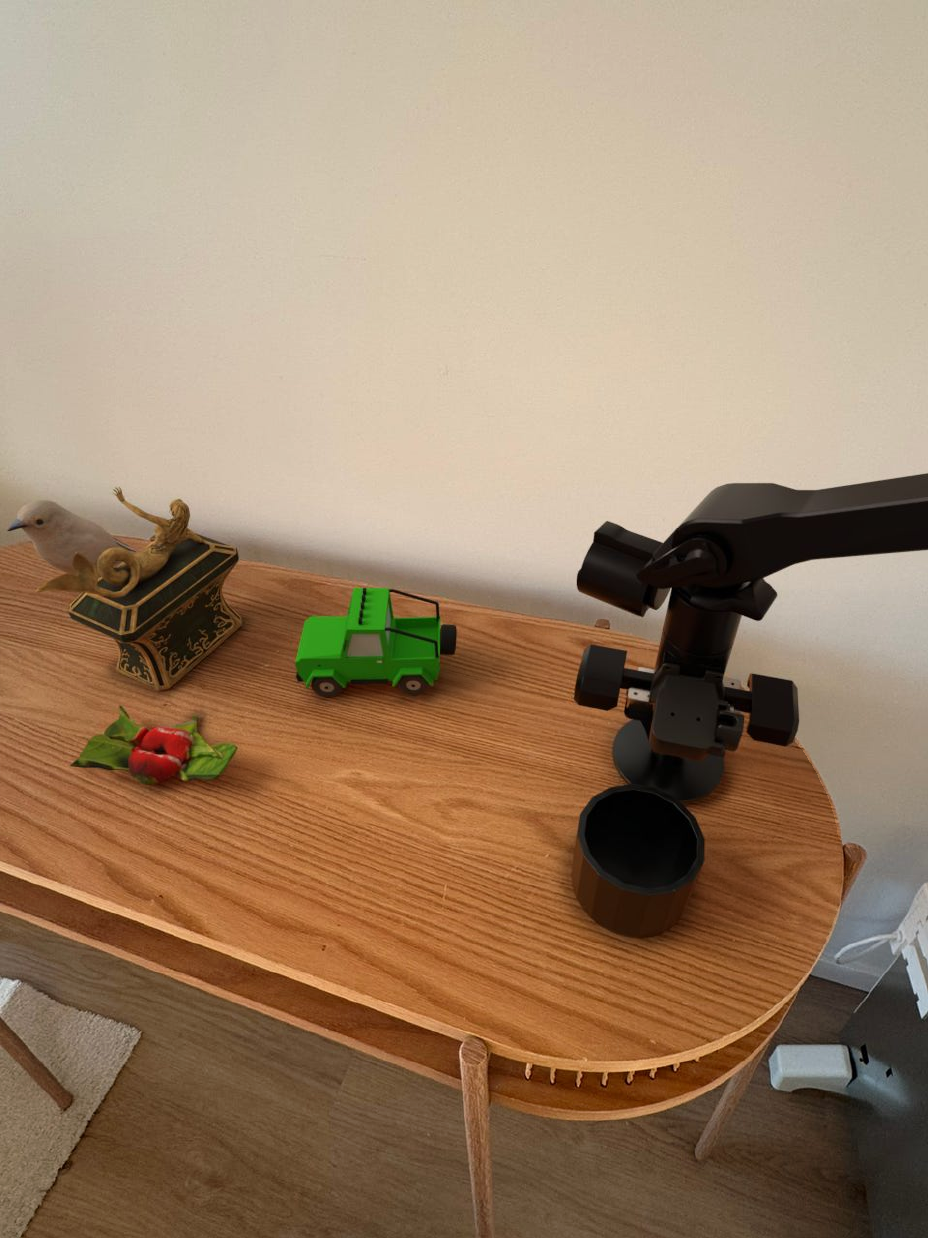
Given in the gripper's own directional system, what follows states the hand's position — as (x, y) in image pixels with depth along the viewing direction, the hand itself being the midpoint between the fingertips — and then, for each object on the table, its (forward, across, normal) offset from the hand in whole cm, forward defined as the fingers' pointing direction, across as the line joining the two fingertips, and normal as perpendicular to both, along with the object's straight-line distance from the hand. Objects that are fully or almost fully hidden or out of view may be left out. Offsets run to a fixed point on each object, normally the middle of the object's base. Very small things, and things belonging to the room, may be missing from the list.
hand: (668, 751), depth 71 cm
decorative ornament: (+2, -47, -13) cm, 49 cm away
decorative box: (+2, -56, 0) cm, 56 cm away
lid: (+1, 0, 0) cm, 1 cm away
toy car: (+2, -32, +4) cm, 32 cm away
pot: (+2, -2, -14) cm, 14 cm away
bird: (+2, -72, +8) cm, 72 cm away
